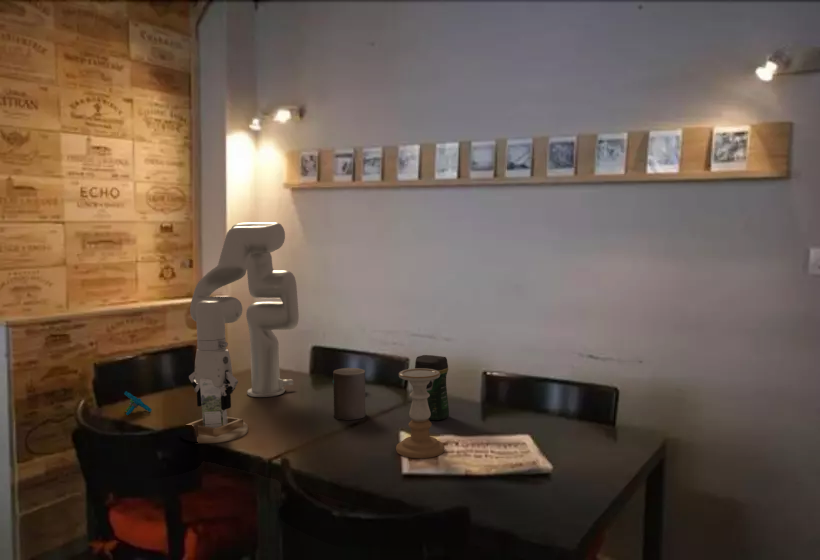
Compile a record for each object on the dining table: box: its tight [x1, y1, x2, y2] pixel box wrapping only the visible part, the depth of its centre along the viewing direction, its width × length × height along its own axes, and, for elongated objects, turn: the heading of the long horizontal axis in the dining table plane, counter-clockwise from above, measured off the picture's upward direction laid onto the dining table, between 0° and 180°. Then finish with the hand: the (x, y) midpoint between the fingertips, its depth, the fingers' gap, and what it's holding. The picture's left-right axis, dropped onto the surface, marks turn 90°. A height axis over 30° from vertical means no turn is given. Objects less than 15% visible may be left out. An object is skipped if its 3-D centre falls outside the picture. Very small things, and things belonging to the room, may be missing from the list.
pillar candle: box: [332, 366, 367, 421], centre depth 207 cm, size 10×10×15 cm
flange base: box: [185, 416, 249, 444], centre depth 192 cm, size 18×18×4 cm
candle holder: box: [395, 368, 445, 459], centre depth 174 cm, size 12×12×20 cm
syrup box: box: [200, 378, 228, 428], centre depth 192 cm, size 6×6×14 cm
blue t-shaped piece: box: [123, 390, 153, 416], centre depth 213 cm, size 11×6×10 cm
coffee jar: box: [414, 354, 450, 421], centre depth 204 cm, size 10×8×19 cm
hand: (214, 406), depth 192 cm, fingers open, 8 cm apart
